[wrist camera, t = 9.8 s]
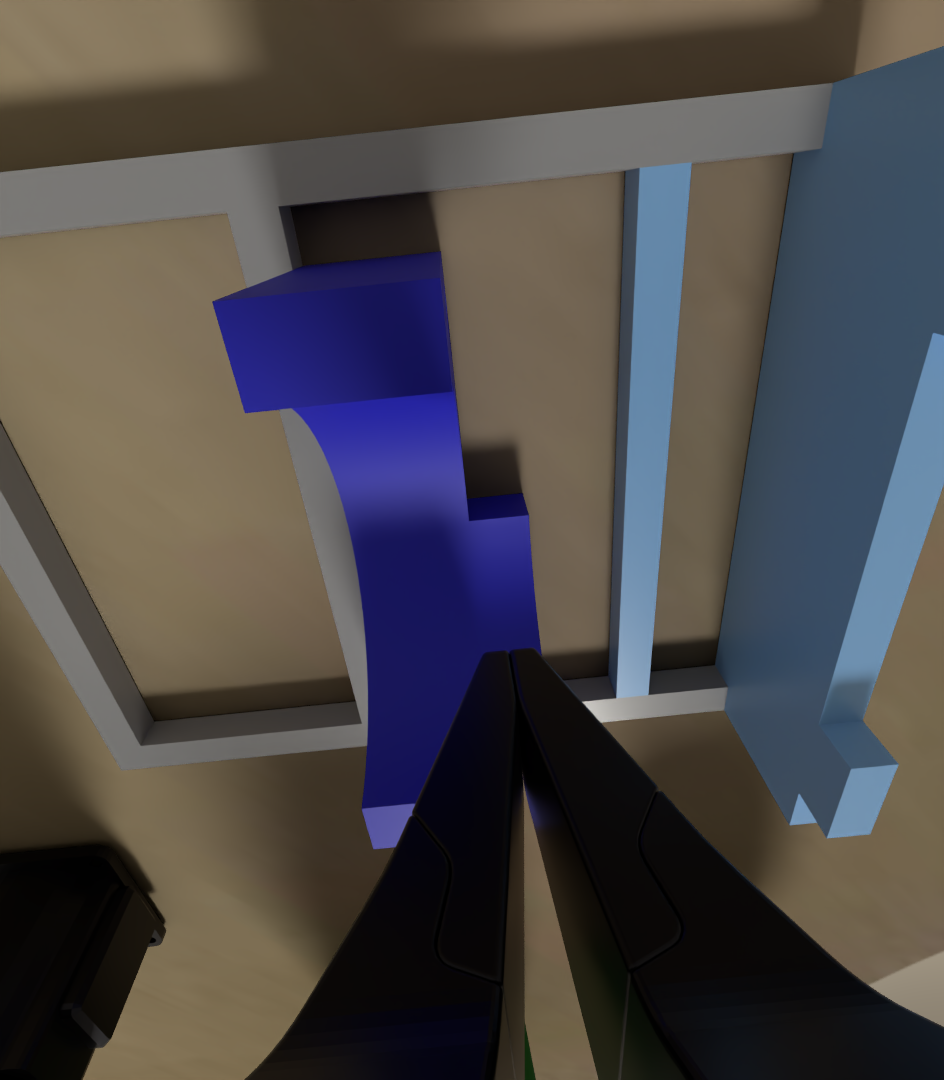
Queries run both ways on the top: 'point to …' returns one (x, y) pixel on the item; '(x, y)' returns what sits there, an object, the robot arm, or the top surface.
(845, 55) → the top surface
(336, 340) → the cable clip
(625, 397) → the blue grey rack
